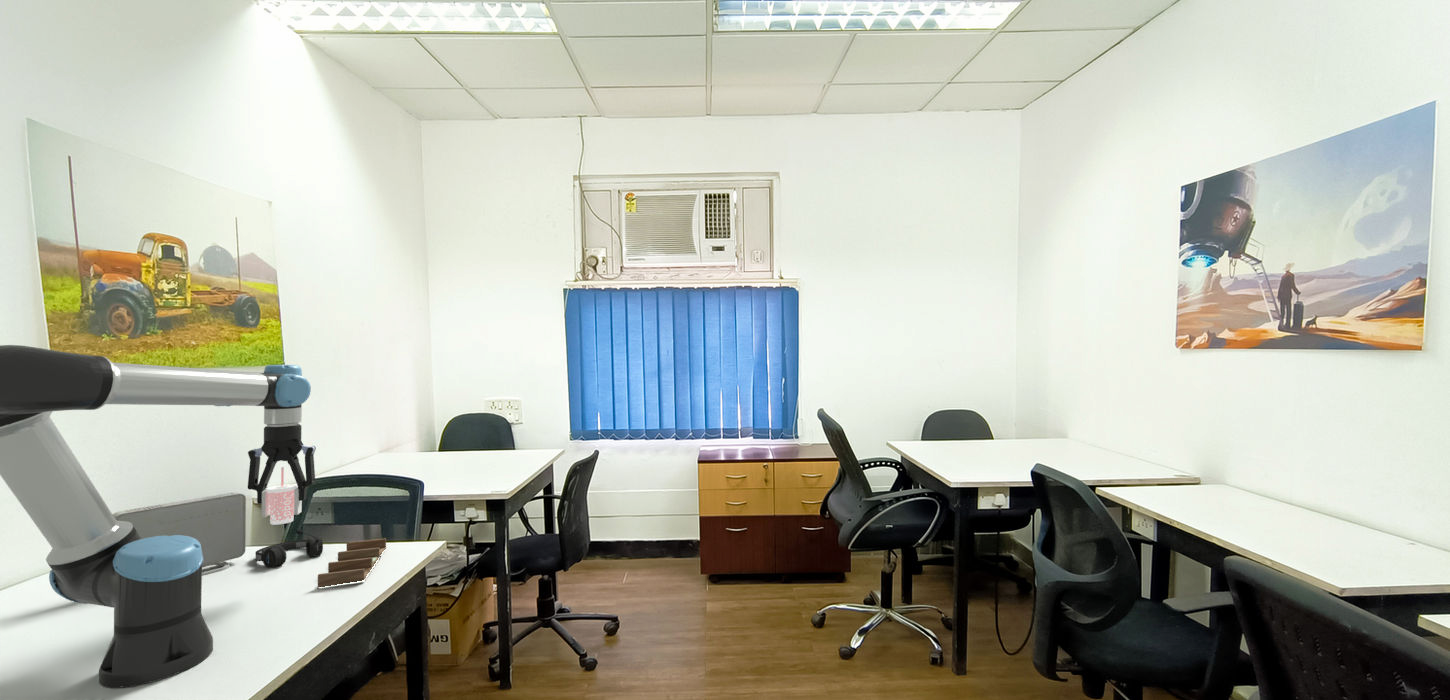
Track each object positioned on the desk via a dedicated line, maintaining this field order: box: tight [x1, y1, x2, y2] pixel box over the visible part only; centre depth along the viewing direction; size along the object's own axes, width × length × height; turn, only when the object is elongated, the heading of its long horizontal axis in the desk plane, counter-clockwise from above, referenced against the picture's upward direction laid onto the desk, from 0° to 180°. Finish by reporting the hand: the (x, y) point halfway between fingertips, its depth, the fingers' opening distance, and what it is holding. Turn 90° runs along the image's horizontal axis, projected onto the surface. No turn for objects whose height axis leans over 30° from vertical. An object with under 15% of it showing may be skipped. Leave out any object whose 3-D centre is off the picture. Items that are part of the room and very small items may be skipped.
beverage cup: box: [266, 466, 298, 526], centre depth 138 cm, size 6×6×14 cm
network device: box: [112, 491, 247, 577], centre depth 145 cm, size 26×9×20 cm, turn 148°
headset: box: [255, 530, 324, 569], centre depth 158 cm, size 14×10×20 cm
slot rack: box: [317, 537, 387, 588], centre depth 151 cm, size 26×10×4 cm, turn 21°
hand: (281, 514), depth 138 cm, fingers closed on beverage cup, 6 cm apart
